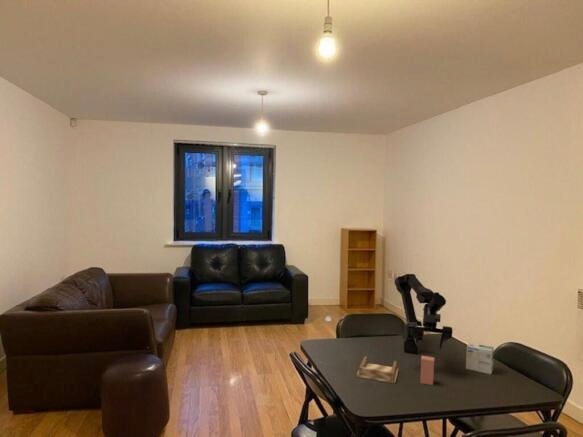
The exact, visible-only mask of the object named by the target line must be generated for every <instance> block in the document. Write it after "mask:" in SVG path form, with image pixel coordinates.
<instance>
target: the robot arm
mask: <svg viewBox="0 0 583 437" xmlns="http://www.w3.org/2000/svg"><path fill="white" fill-rule="evenodd" d="M394 285H395V287H396V290H397V291H398V293H400V296H401V300H402V301H401V302H402V305H403V309H404V314H405V318H406V322H405V325H404V330H403V331H402V332H401V337H402V339H403V340H404V341H403V351H404V353H406V354H412V355H419V350H420V349H419V341H423V339H424V338H423V337H424V334H425V332H426V333H427V332H428V333H435V334H441V335H440V336H441V337H440V341H439V351H441V350H442V348H443V345H444V344H445V343H446V341H447V340H448V341H449V339H452V338H453V327H452V326H448V325H447V326H446V325H443V326H442V328H437V327H438V325H437V324H438V323H441V313H438V312H439V311H440V310H441V309H442V308H443V307H444V306H445V305H446V304H447V299H446V298H445V297H444V296H443V295H441V294H440V293H439V292H437V291H436V292H434V291H433V290H431V289H430V288H427V287H425V286H424V285H423V284H422V282H420V280H419V279H418V278H417V275H416V274H414V273H405V274H403V275H401V276H397V277H396V278H395V279H394ZM412 290H413V291H414V292H415V294H416V297H415V298H416V300H417V301H418V303H419V304H424V306H423V308H422V311H423V317H422V321H419V319H418V318H417V316H416V310H415V307H414V303H413V298H412V292H411V291H412Z"/></svg>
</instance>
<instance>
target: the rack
mask: <svg viewBox="0 0 583 437" xmlns="http://www.w3.org/2000/svg"><path fill="white" fill-rule="evenodd" d="M398 373H399V368H398V367H397V361H396V360H393V363H392V366H388V365H387V366H386V365H383V364H382V365H381V364H377V363H376V364H374V363H368V356H366V355H364V357H363V359H362V361H361V363H360V365H359V367H358V371H357V373H356V377H357V378H364V379H368V380H369V379H370V380H374V381H380V382H385V383H392V384H396V382H397V378H398Z"/></svg>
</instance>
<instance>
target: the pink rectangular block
mask: <svg viewBox="0 0 583 437" xmlns="http://www.w3.org/2000/svg"><path fill="white" fill-rule="evenodd" d="M434 368H435V357H433V356H426V355H421V358H420V375H419V378H420V380H419V383H420V384H424V385H425V384H426V385H430V386H433V385H434V372H435V371H434V370H435V369H434Z"/></svg>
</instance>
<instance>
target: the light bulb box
mask: <svg viewBox="0 0 583 437" xmlns="http://www.w3.org/2000/svg"><path fill="white" fill-rule="evenodd" d="M494 348H495V347H494V346H492V345H487V344H486V345H485V344H480V343H476V342H475V343H474V342H468V343H467V345H466V352H465V353H466V356H465V357H466V359H465V369H466V370H470V371H475V372H478V373H482V374H483V373H484V374H487V375H492V372H493V370H494V352H495V351H494V350H495V349H494Z"/></svg>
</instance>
